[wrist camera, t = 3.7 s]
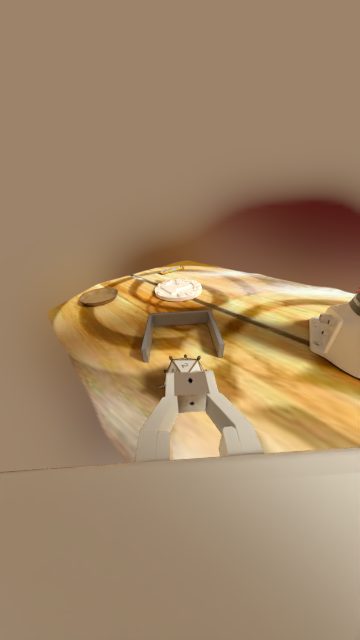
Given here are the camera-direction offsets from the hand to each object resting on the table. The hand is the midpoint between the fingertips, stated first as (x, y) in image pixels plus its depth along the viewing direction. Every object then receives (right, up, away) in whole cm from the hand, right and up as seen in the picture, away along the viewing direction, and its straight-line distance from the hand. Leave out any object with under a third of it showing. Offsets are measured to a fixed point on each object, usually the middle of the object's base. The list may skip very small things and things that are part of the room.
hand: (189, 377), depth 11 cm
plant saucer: (-33, +12, +56) cm, 67 cm away
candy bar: (-5, +32, +85) cm, 91 cm away
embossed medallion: (-1, +16, +59) cm, 61 cm away
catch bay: (0, -1, +32) cm, 32 cm away
